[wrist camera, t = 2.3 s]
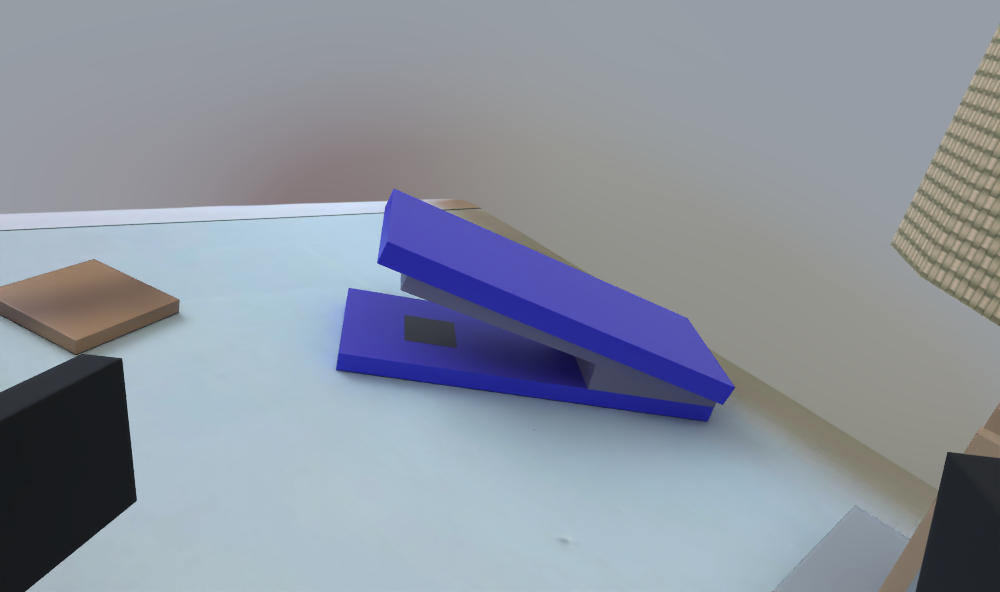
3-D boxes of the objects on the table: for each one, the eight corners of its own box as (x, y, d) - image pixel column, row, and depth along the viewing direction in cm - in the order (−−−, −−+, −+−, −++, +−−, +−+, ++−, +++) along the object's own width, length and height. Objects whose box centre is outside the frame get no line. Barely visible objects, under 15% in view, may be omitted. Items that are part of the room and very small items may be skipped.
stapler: (346, 298, 59) (366, 182, 55) (670, 350, 65) (709, 248, 60) (334, 377, 49) (358, 241, 45) (720, 430, 54) (771, 313, 50)
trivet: (-17, 305, 46) (-18, 291, 46) (94, 271, 53) (94, 258, 53) (76, 355, 44) (76, 340, 44) (179, 312, 51) (179, 299, 51)
